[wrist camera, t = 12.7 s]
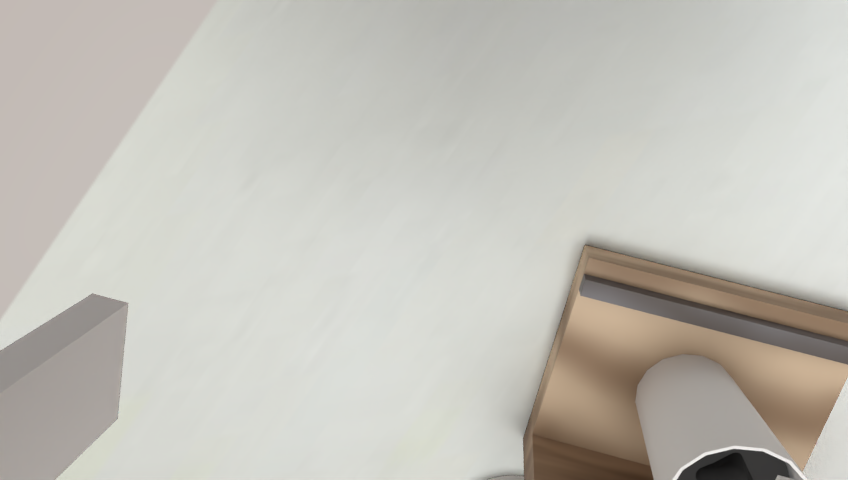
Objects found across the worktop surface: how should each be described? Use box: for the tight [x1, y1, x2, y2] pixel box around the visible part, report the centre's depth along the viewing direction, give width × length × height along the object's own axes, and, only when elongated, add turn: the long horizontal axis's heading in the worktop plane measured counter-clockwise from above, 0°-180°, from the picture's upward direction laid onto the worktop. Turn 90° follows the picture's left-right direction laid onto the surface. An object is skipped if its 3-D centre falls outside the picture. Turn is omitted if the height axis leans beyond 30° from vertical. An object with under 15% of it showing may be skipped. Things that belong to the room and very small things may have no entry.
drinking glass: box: [635, 354, 808, 480], centre depth 36 cm, size 7×7×10 cm
